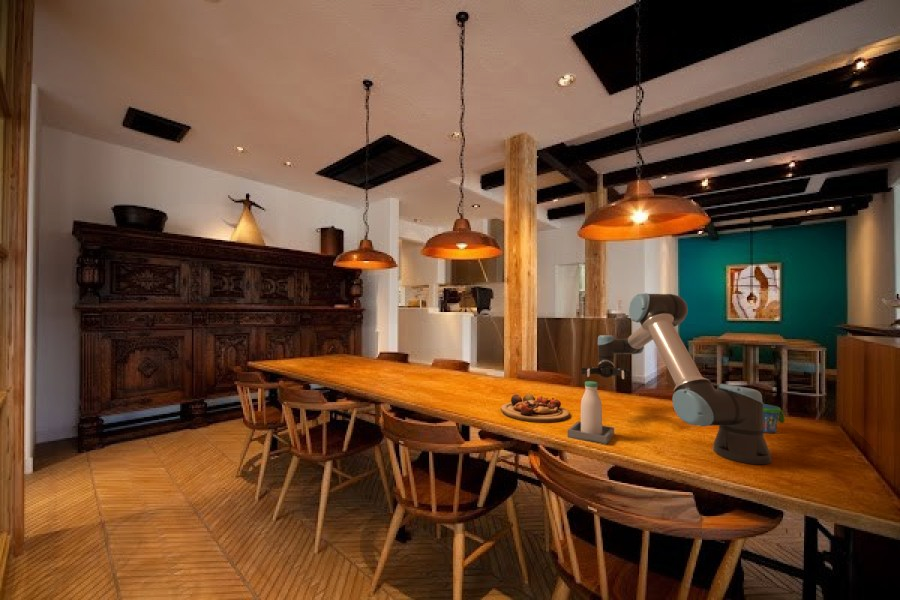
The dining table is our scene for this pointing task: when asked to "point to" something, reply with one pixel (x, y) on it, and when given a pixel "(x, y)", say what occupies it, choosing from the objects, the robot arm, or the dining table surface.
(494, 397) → the dining table surface
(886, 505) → the dining table surface
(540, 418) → the wooden plate with food
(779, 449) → the dining table surface
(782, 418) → the snack cup
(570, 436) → the bottle tray
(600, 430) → the milk bottle
